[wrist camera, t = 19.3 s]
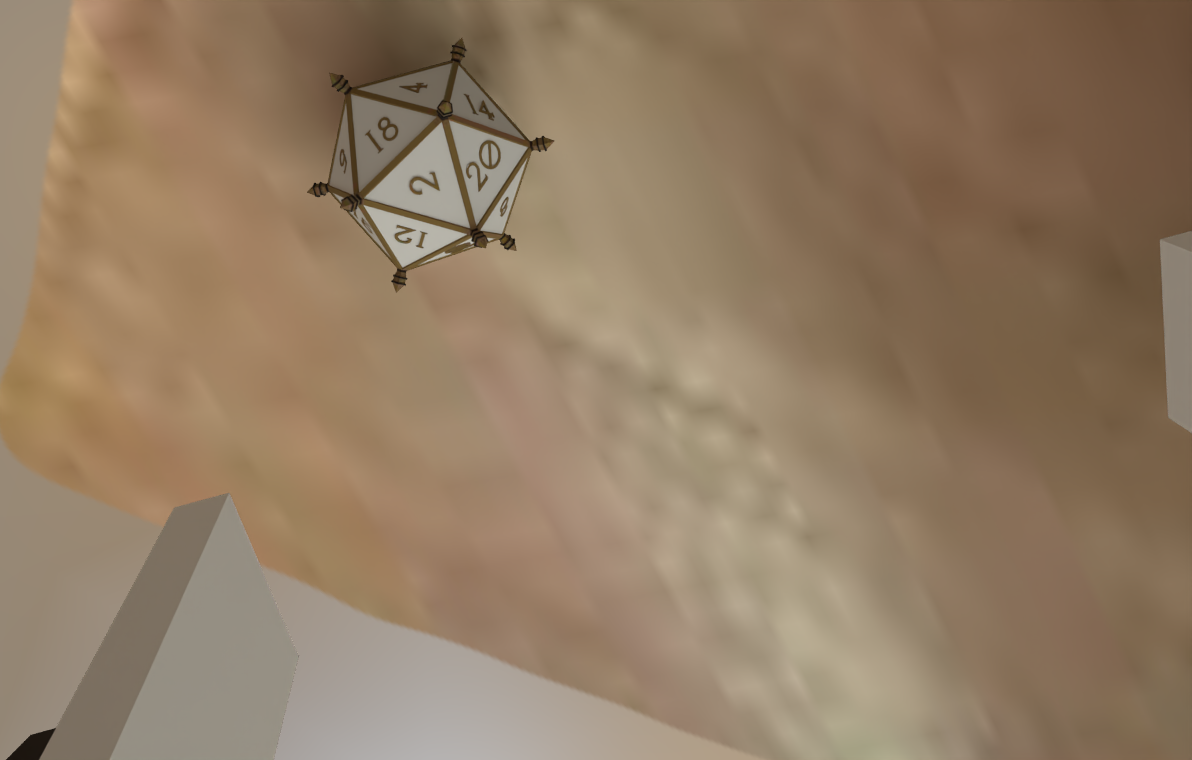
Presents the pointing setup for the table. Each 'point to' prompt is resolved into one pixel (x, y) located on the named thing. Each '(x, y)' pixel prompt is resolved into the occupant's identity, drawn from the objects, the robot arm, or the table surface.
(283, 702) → the robot arm
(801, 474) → the table surface
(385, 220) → the game die
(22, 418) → the table surface
